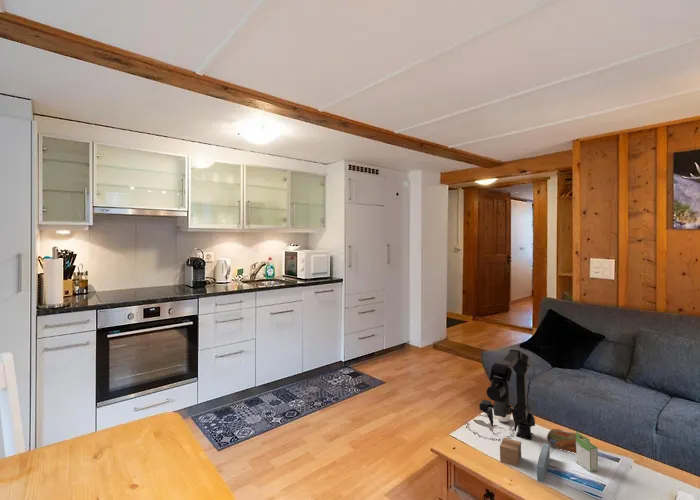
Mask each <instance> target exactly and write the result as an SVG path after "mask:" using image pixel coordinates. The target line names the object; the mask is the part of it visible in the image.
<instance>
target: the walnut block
mask: <svg viewBox="0 0 700 500" xmlns="http://www.w3.org/2000/svg"><path fill="white" fill-rule="evenodd" d="M521 460H522V442H521V441H519V440H515V439H512V438H511V439H510V438H507V437H503V439H502V440H501V442H500V444H499V461H500V463H504V464H507V465H510V466H514V467H517V468H518V467H519V465H520V462H521Z"/></svg>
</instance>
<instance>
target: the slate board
mask: <svg viewBox="0 0 700 500" xmlns="http://www.w3.org/2000/svg"><path fill="white" fill-rule="evenodd" d="M550 453H551V451H550V444H549V443H546V442H543V443H542V445H541V449H540V453H539V457H538V460H537V462H536V481H537V482H539V483H542V484H545V481H546V476H547V472H548V468H549V467H548V466H549V464H548V463H550V459H549V458H551V457H550ZM547 467H548V468H547Z"/></svg>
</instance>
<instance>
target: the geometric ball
mask: <svg viewBox="0 0 700 500" xmlns="http://www.w3.org/2000/svg"><path fill="white" fill-rule="evenodd" d="M511 416H512V414H511V415H509V414H508V415H506V417H501V416H495V417H496V419H497V420H498V421H499V422H500V423H506V422H508V421H510V419H511Z"/></svg>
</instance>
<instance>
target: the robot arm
mask: <svg viewBox="0 0 700 500" xmlns="http://www.w3.org/2000/svg"><path fill="white" fill-rule="evenodd" d="M531 365H532V360H531V358H530V356H529V355H527V354H525V353H523V351H521V350H519V349H513V348H511V349H509V351H508V353H507V354H506V355H505V357H504V358H502V360H497V361H495V362H494V363H493V364H492V366H491V369H490V374H489V377H488V380H489V381H492V382H491V384H490V386H489V387H488V388H487V389H486V395H487V397H488V398H489V399H482V400H481V401H480V403H479V406H478V407H479V408H478V409H479V411H482V413H484V414H486V416H487V418H488V420H489V422H490V425H491V427H494V416H495V417H496V416H501V417H506V415H508V414H509V415H511V416H512V420H513V422H514V426H513V429H514V432H516V434H515V436H516V437H519V438H523V439H526V440H532V437H533V432H532V427H534V426H536V419H535V417H534V415H533V413H532V408H531V406H530V405H529V403H528V381H527V373H528V371H529V370H530V368H531ZM513 372H514V373H515V386H516V387H515V389H516V403H515V405H514V407H513V408H512V406H511V394H510V393H511V392H510V382H511V380H512V376H513ZM492 401H494V403H493V404H492Z"/></svg>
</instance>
